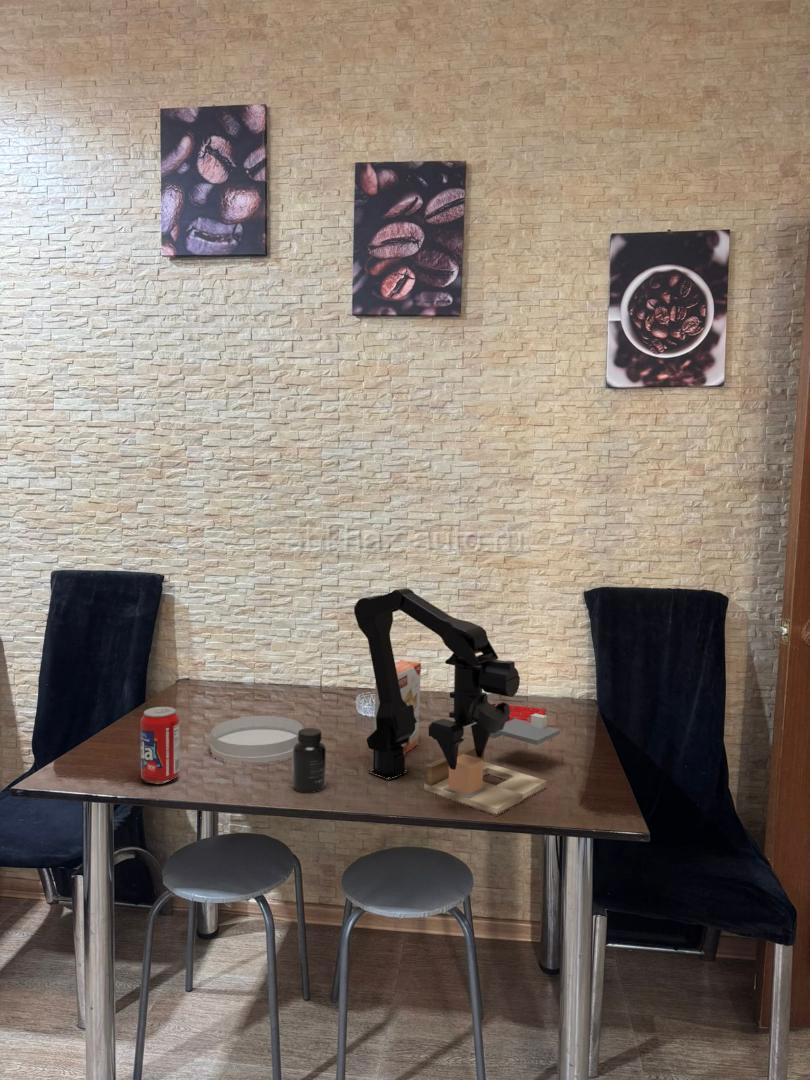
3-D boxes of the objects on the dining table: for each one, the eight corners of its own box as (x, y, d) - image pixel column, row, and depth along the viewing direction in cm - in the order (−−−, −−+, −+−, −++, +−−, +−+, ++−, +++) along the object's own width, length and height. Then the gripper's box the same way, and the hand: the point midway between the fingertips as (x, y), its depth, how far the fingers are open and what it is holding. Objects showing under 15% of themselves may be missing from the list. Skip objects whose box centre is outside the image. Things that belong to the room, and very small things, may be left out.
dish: (285, 771, 168) (285, 749, 168) (193, 762, 172) (193, 741, 172) (316, 738, 190) (316, 719, 189) (233, 731, 194) (233, 712, 194)
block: (448, 788, 155) (449, 760, 154) (462, 781, 159) (463, 753, 158) (468, 795, 152) (469, 766, 151) (482, 788, 155) (483, 759, 155)
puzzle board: (424, 790, 158) (424, 765, 157) (477, 766, 172) (477, 742, 172) (496, 816, 146) (497, 788, 146) (546, 787, 160) (547, 762, 160)
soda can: (183, 782, 160) (183, 713, 159) (145, 789, 156) (144, 718, 155) (174, 770, 167) (174, 703, 166) (137, 776, 163) (137, 708, 162)
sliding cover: (489, 737, 175) (490, 717, 174) (513, 727, 182) (513, 707, 182) (537, 750, 166) (537, 729, 166) (559, 739, 174) (560, 719, 174)
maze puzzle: (461, 724, 203) (461, 721, 203) (477, 704, 222) (477, 701, 222) (535, 733, 197) (535, 730, 197) (545, 711, 216) (545, 709, 216)
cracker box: (395, 764, 172) (397, 674, 171) (372, 760, 175) (373, 671, 173) (420, 745, 185) (422, 661, 184) (398, 741, 188) (399, 658, 186)
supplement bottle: (286, 786, 159) (286, 730, 158) (312, 778, 164) (312, 723, 163) (306, 796, 154) (306, 738, 153) (332, 787, 159) (332, 731, 158)
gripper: (473, 705, 141) (471, 787, 142) (526, 686, 155) (524, 760, 156) (427, 694, 148) (426, 771, 150) (482, 677, 163) (480, 747, 164)
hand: (466, 762), depth 155 cm, fingers open, 9 cm apart
